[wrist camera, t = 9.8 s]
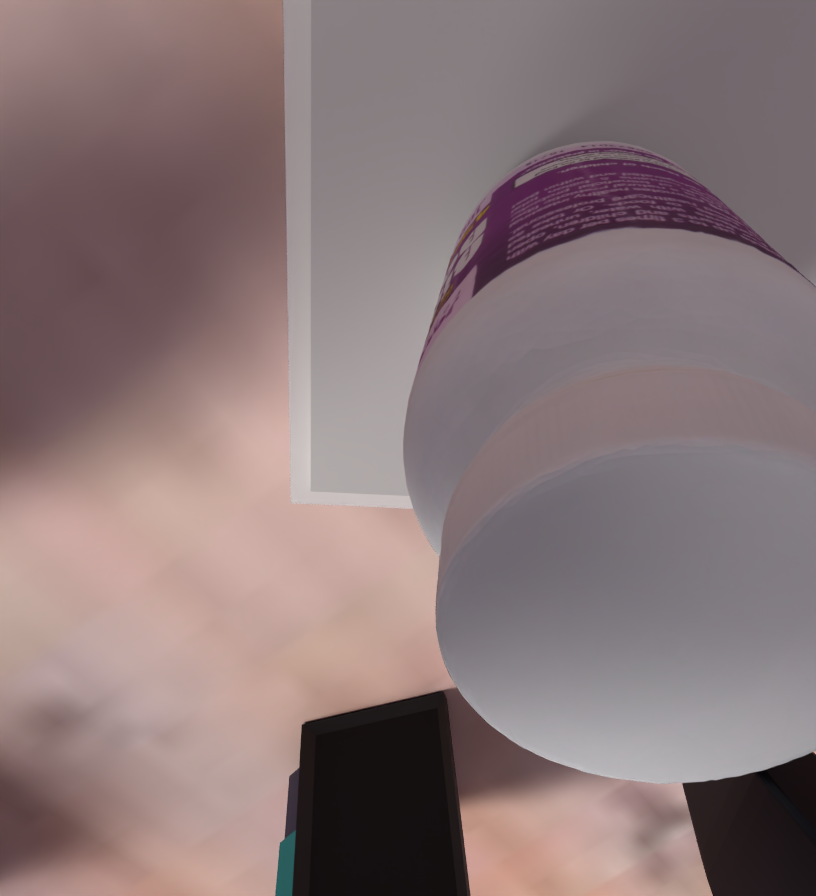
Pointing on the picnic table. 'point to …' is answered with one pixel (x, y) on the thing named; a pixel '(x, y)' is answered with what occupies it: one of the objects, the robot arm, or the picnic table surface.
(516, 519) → the pill bottle
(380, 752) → the speaker
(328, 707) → the picnic table surface
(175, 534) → the picnic table surface
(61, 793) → the picnic table surface
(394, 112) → the plinth
